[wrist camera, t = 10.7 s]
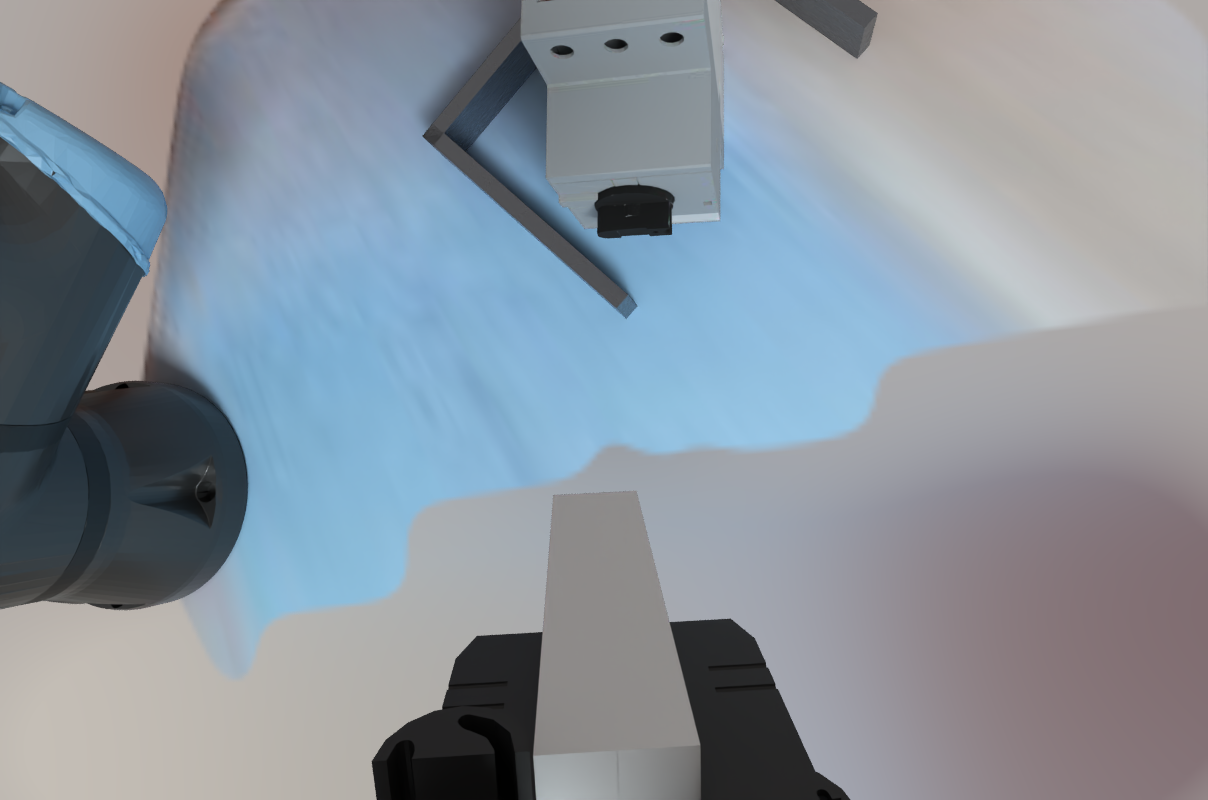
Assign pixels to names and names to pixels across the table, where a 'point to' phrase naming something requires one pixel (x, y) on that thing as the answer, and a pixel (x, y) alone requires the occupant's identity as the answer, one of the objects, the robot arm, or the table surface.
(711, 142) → the circuit breaker
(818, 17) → the lockout stall
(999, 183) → the table surface
